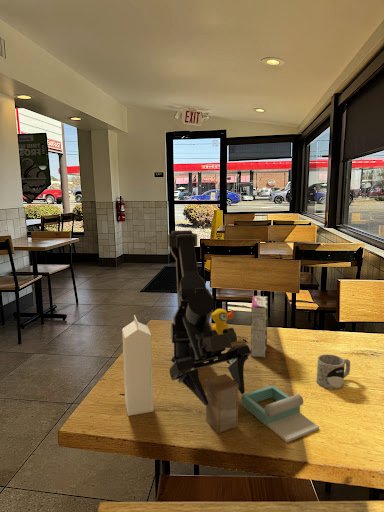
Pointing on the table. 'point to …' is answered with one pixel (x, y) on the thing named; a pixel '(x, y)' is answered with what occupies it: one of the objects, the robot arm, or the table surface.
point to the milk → (137, 368)
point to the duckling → (220, 320)
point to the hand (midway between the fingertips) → (225, 399)
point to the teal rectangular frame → (279, 412)
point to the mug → (332, 371)
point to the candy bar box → (259, 326)
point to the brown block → (222, 403)
